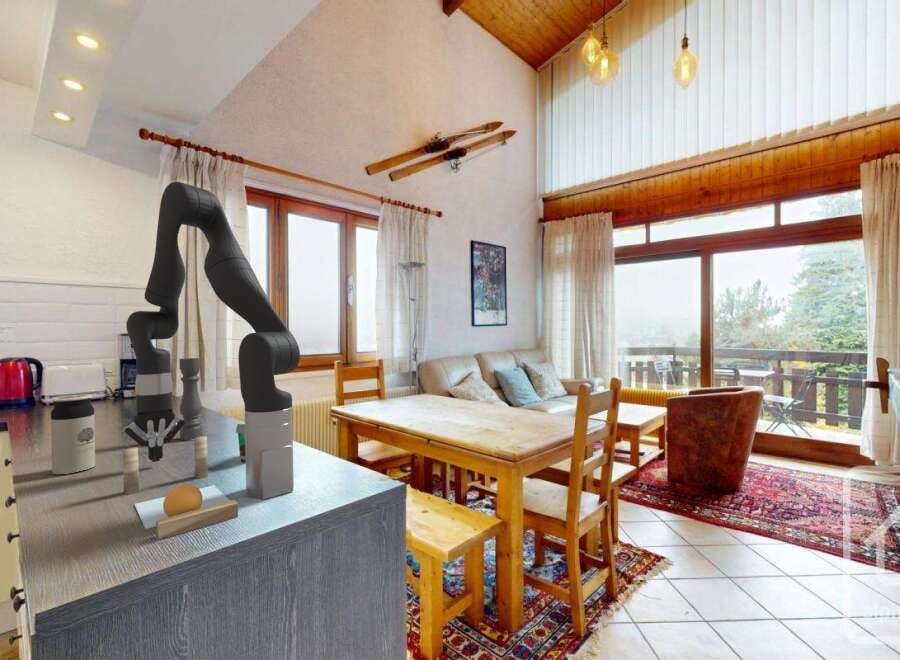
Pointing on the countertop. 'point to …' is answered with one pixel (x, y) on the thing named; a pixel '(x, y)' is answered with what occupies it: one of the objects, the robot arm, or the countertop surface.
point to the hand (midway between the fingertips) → (155, 460)
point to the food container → (241, 441)
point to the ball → (182, 500)
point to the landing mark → (155, 511)
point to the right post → (201, 457)
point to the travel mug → (72, 434)
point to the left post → (130, 470)
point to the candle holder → (190, 399)
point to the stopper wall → (196, 519)
